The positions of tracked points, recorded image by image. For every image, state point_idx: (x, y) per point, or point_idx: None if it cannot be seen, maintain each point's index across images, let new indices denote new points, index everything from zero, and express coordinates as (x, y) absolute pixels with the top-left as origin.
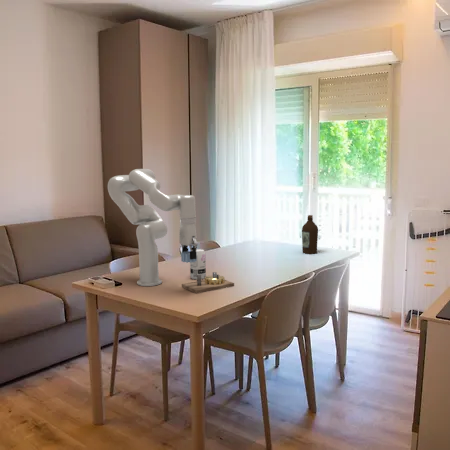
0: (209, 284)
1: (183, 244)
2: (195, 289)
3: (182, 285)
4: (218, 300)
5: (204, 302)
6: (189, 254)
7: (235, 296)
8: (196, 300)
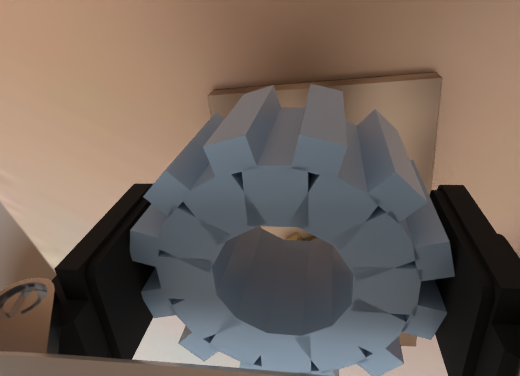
0: (295, 233)
1: (240, 371)
2: (229, 102)
3: (424, 76)
4: (27, 137)
5: (3, 46)
6: (140, 228)
7: (76, 240)
8: (56, 17)
